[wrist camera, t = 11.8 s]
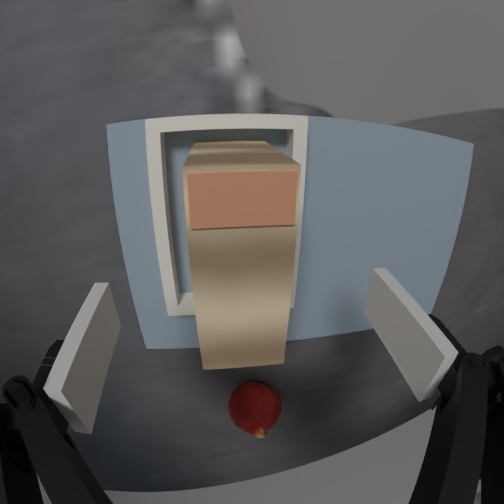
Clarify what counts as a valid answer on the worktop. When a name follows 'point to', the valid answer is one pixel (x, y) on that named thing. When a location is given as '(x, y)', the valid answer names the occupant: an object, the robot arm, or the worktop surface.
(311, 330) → the mat
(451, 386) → the robot arm
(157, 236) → the frame
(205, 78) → the worktop surface
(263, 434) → the onion
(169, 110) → the worktop surface
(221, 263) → the block
